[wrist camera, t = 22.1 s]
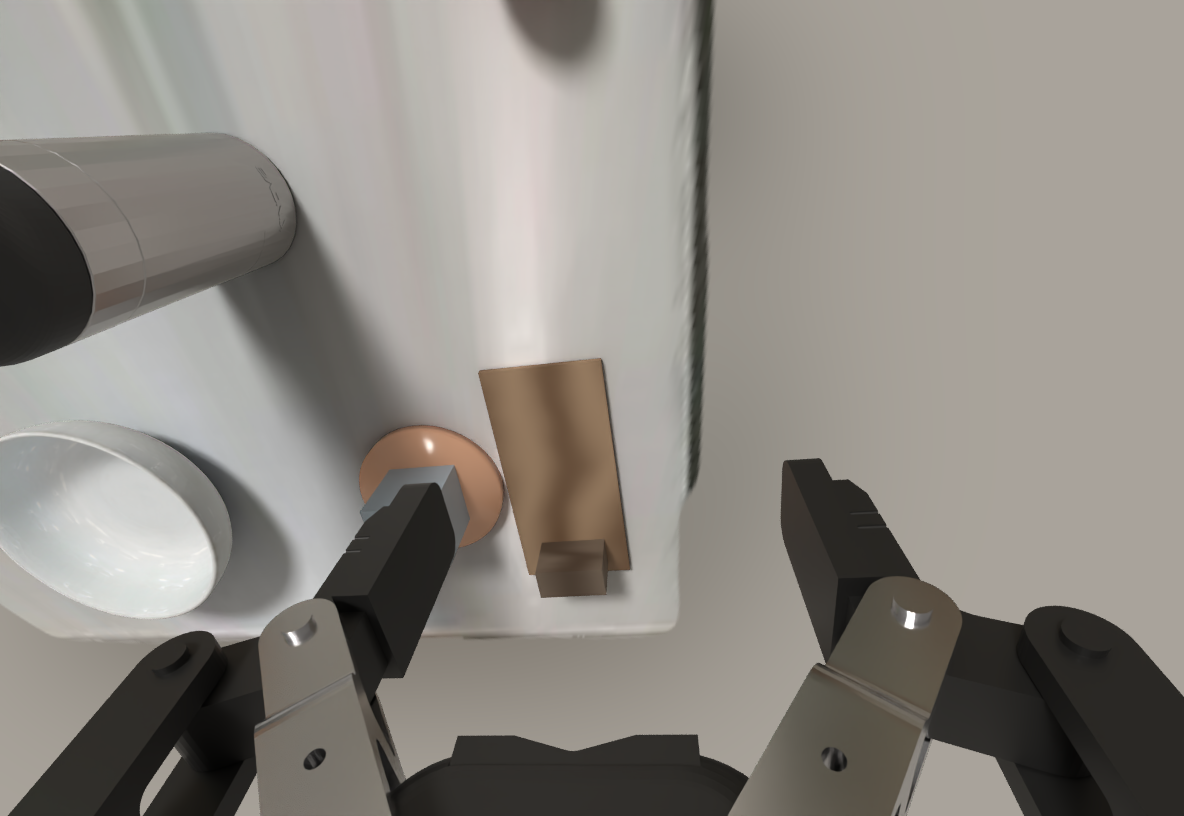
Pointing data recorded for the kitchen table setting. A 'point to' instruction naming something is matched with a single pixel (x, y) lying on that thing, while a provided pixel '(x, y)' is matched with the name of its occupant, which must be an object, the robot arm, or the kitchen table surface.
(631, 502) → the kitchen table surface
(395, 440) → the terracotta saucer
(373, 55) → the kitchen table surface
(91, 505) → the serving bowl
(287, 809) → the robot arm
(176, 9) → the kitchen table surface
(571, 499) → the walnut strip
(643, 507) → the kitchen table surface
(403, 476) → the slate cube
